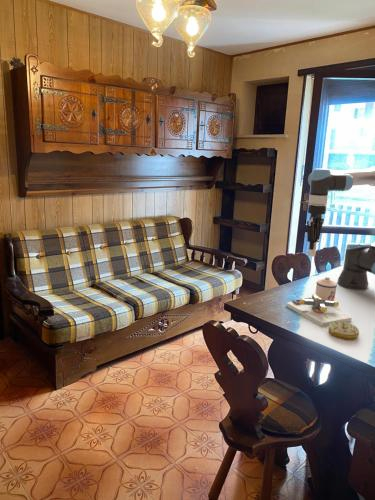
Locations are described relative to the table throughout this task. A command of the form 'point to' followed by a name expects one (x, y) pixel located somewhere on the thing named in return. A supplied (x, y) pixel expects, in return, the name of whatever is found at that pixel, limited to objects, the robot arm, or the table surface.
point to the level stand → (319, 318)
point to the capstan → (318, 303)
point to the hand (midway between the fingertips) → (311, 255)
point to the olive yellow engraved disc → (344, 330)
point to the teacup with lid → (326, 289)
